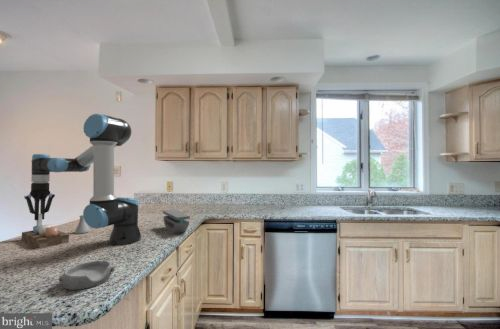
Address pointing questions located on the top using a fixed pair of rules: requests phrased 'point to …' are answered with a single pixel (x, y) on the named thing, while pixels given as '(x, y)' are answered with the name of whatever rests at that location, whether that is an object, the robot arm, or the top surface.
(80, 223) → the flask
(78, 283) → the dish
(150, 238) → the top surface
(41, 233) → the off-white round ball
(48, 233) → the peach orange ball
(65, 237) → the wooden egg tray
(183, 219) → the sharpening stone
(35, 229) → the blue rounded lump
